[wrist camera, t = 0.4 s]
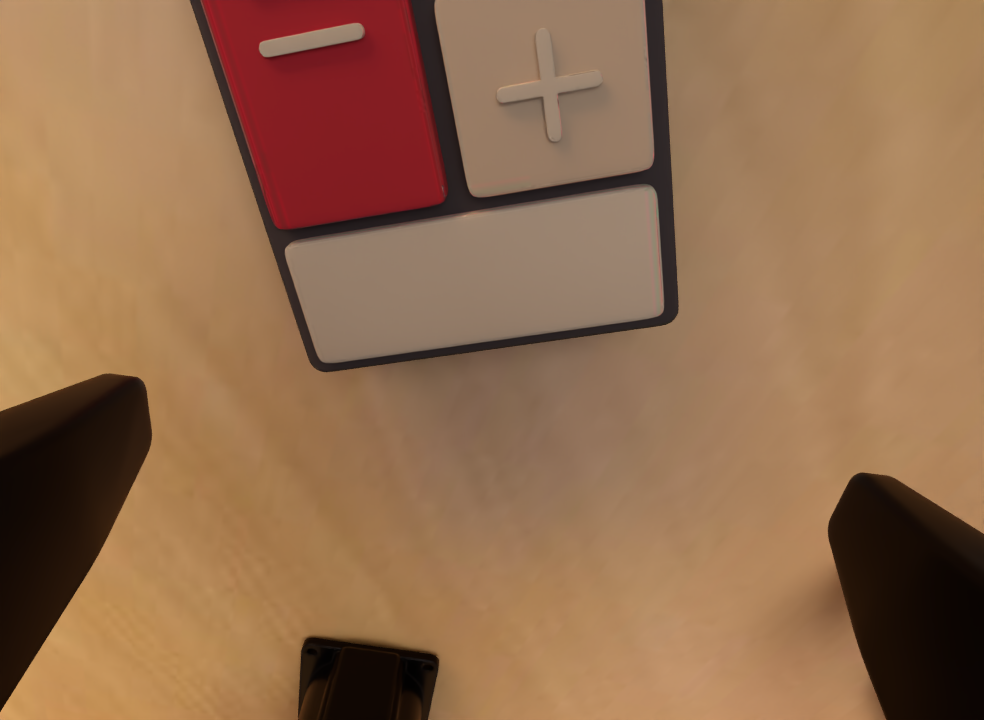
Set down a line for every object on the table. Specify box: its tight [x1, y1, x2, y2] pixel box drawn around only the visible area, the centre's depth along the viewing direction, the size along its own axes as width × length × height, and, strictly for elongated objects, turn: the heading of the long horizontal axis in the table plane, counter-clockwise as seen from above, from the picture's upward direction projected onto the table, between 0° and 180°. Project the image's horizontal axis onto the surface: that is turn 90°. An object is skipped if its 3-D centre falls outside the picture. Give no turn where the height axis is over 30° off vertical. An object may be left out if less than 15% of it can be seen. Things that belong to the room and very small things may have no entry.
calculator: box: [190, 0, 678, 372], centre depth 18 cm, size 11×4×15 cm
